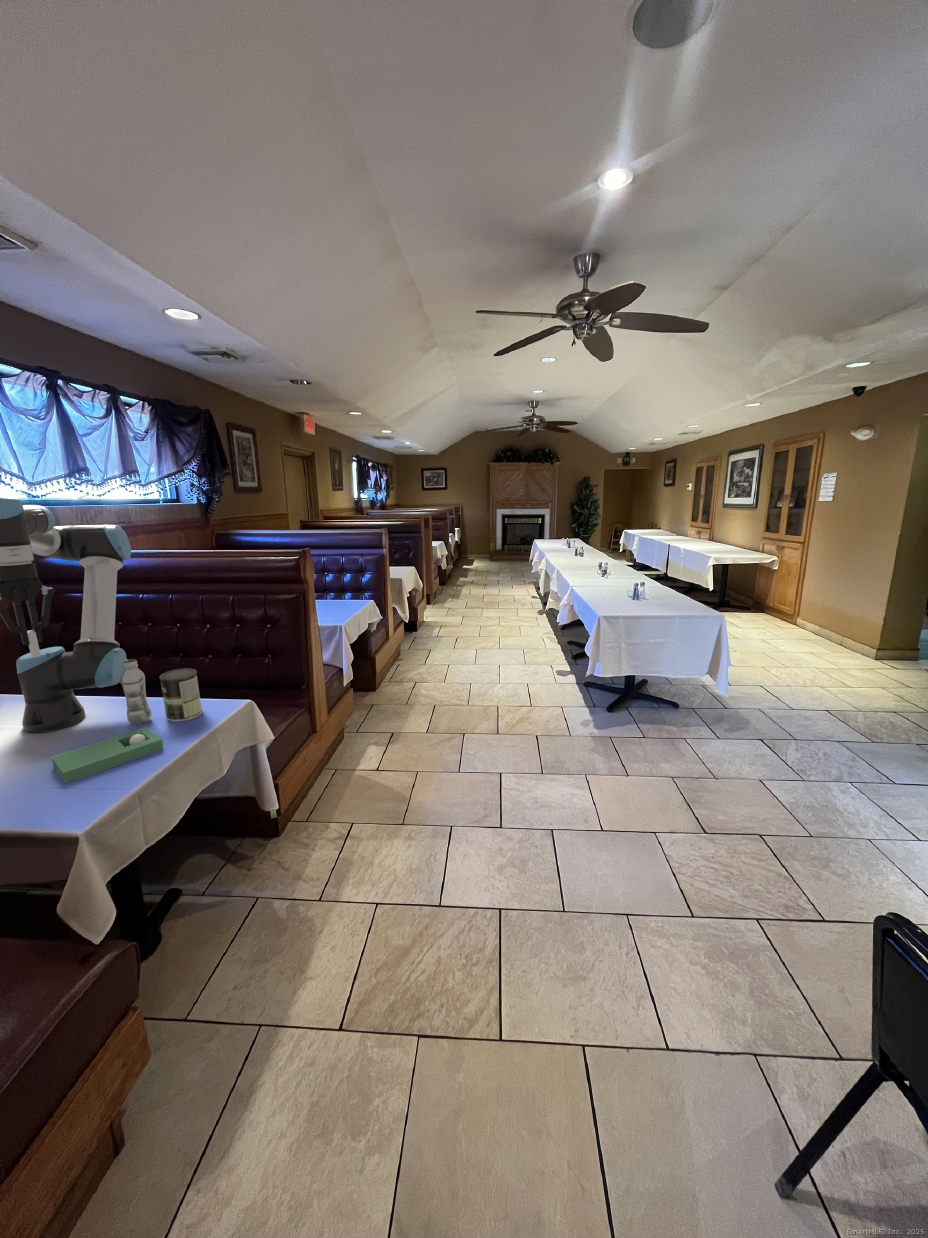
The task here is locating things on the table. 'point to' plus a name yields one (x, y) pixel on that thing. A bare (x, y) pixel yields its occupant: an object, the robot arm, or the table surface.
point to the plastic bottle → (135, 693)
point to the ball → (137, 739)
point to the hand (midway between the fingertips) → (36, 656)
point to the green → (104, 755)
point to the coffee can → (181, 694)
